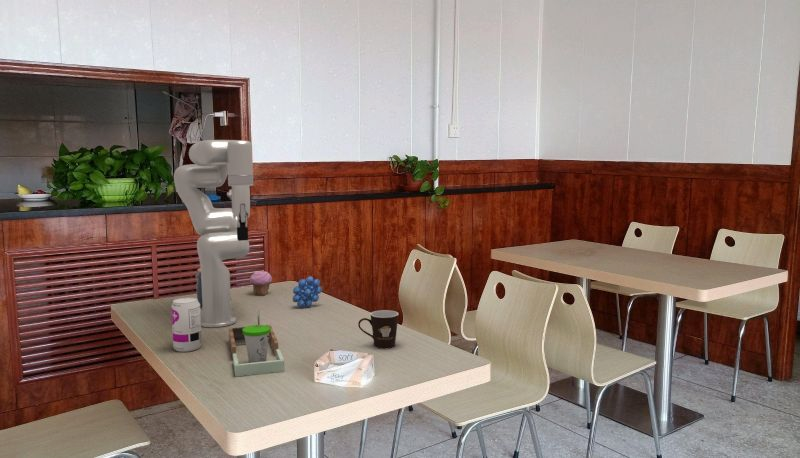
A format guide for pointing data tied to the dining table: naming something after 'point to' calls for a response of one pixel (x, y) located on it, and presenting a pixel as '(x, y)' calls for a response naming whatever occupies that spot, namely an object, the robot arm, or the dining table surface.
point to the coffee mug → (383, 328)
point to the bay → (259, 366)
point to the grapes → (307, 292)
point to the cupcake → (260, 282)
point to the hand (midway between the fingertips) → (242, 239)
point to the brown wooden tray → (239, 339)
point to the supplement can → (186, 324)
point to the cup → (257, 341)
